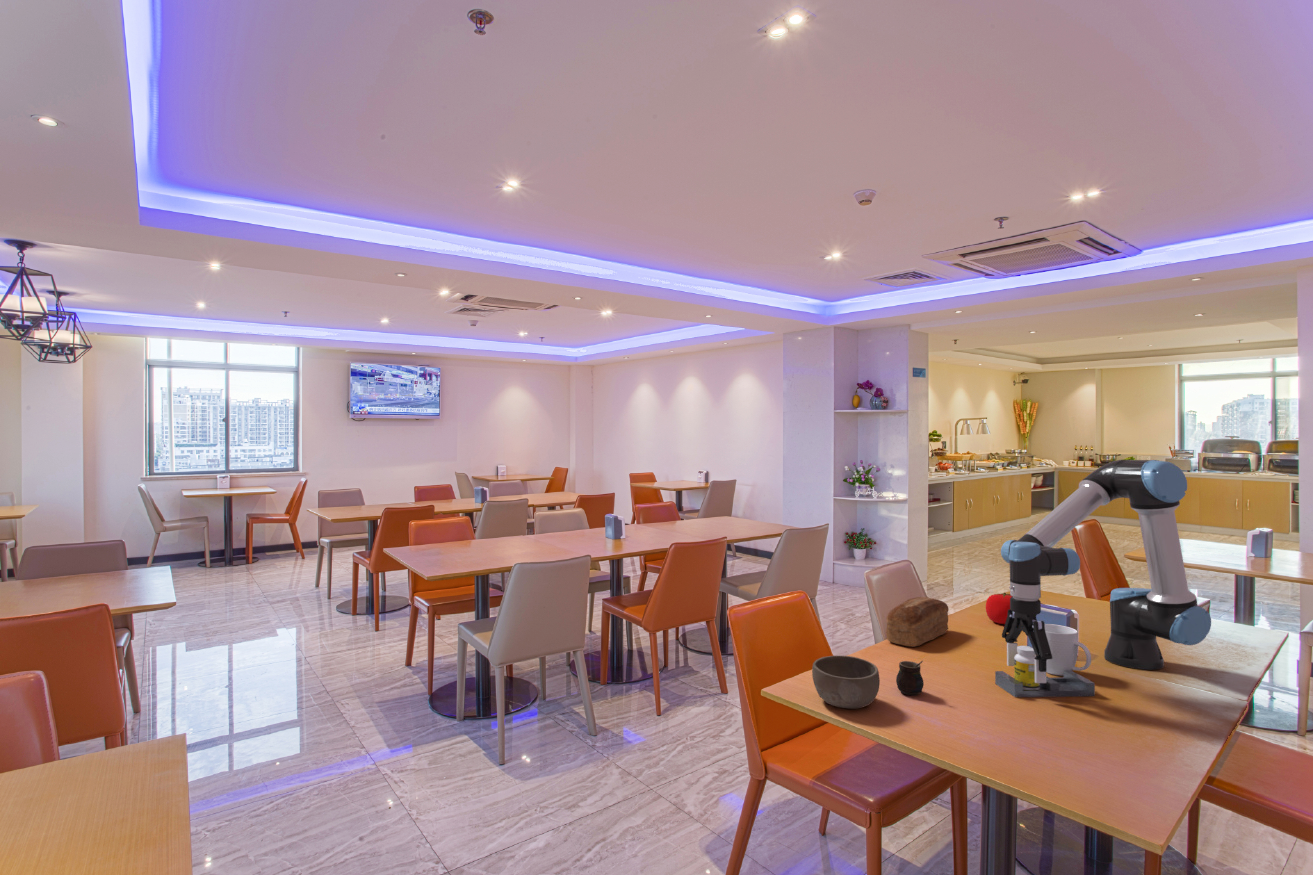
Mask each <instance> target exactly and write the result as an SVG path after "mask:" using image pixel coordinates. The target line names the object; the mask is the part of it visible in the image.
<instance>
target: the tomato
mask: <svg viewBox="0 0 1313 875" xmlns="http://www.w3.org/2000/svg"><path fill="white" fill-rule="evenodd" d="M1011 597H1013V596H1011V595H1010V593H1007V592H1001V593H994V594H991V595H989V596H988V598H987V599H986V601H985V612H986V616H987V617H988V619H989V620H990V621H991V622H994V623H995V624H999V625H1005V623H1006V619H1007V614H1008V609H1010V598H1011Z"/></svg>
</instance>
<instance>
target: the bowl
mask: <svg viewBox="0 0 1313 875" xmlns="http://www.w3.org/2000/svg"><path fill="white" fill-rule="evenodd" d="M811 668H812V669H811V671H812V672H811V673H812V674H811V676H812V681H813V685H814V687H815V691H816V692H817V694H818V696H819V697H820V698H821V699H822V701H824V702H825V703H826V704H829V705H830V706H833V707H836V708H841V709H845V710H846V709H848V710H850V709H855V710H856V709H861V708H864V707H867V706H869V705H870V704H871V703H873V702H874V700H875V699H876V697H877V695H878V693H879V689H880V683H881V682H880V681H881V680H880V679H881V678H880V672H879V668H878V667H877V666H876V664H874V663H873V662H871V661H869V660H866V659H863V658H859V657H855V656H850V655H829V656H821V657H820V658H817V659H816V660H814V662H813V663H812V667H811Z"/></svg>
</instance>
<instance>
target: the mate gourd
mask: <svg viewBox="0 0 1313 875" xmlns="http://www.w3.org/2000/svg"><path fill="white" fill-rule="evenodd" d="M923 662H924V660H921V661H920V662H919V663H917V662H915V661H909V660H904V661H903V660H902V661H900V662H899V663H898V664H899V665H898V667H899V670H898V672H897V675H896V679H895V683H896V686H897V689H898V690H899V692H901V694H903V695H906V696H910V697H911V696H914V697H915V696H918V695H919V694H920V693H922V691H923V689H924V685H925V684H924V683H925V682H924V679H923V676H922V674H921V664H922V663H923Z"/></svg>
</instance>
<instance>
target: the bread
mask: <svg viewBox="0 0 1313 875" xmlns="http://www.w3.org/2000/svg"><path fill="white" fill-rule="evenodd" d="M886 615H887V616H886V630H885V633H886V640H887V641H888V642H890V643H893V644H897V645H900V646H905V647H911V648H912V647H919V646H921V645H923V644H925V643H927V642H930V641H933V640H934V639H937V637H940V636H942V635H945V634H946V633H947V631H948V630H949V625H948V622H949V605H948V604H947V603H946V602H944V601H942V600H939V599H936V598H932V597H928V596H925V597H921V596H920V597H919V596H918V597H913V598H909V599H907V600H905V601H903V602H902V603H900V604H898V605H897V606H895V607H894V608H892V609H891V610H890V611H889V612H888V614H886Z"/></svg>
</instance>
